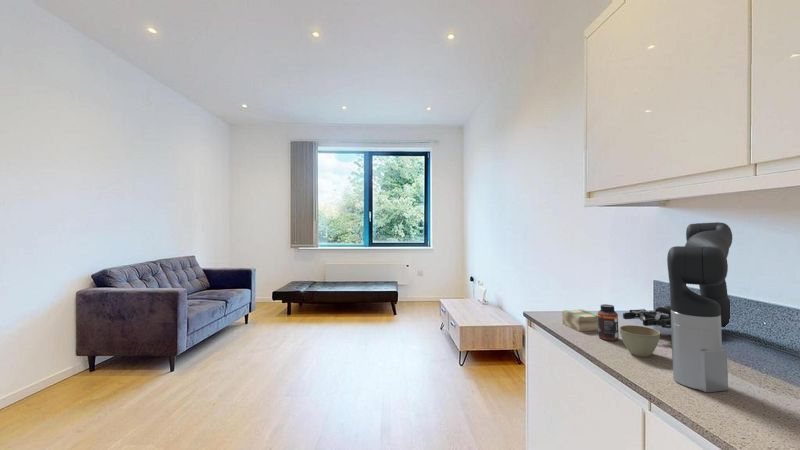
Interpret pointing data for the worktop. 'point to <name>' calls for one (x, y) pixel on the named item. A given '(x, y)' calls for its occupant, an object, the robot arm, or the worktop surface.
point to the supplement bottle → (608, 323)
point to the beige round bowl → (639, 339)
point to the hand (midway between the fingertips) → (633, 319)
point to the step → (580, 320)
